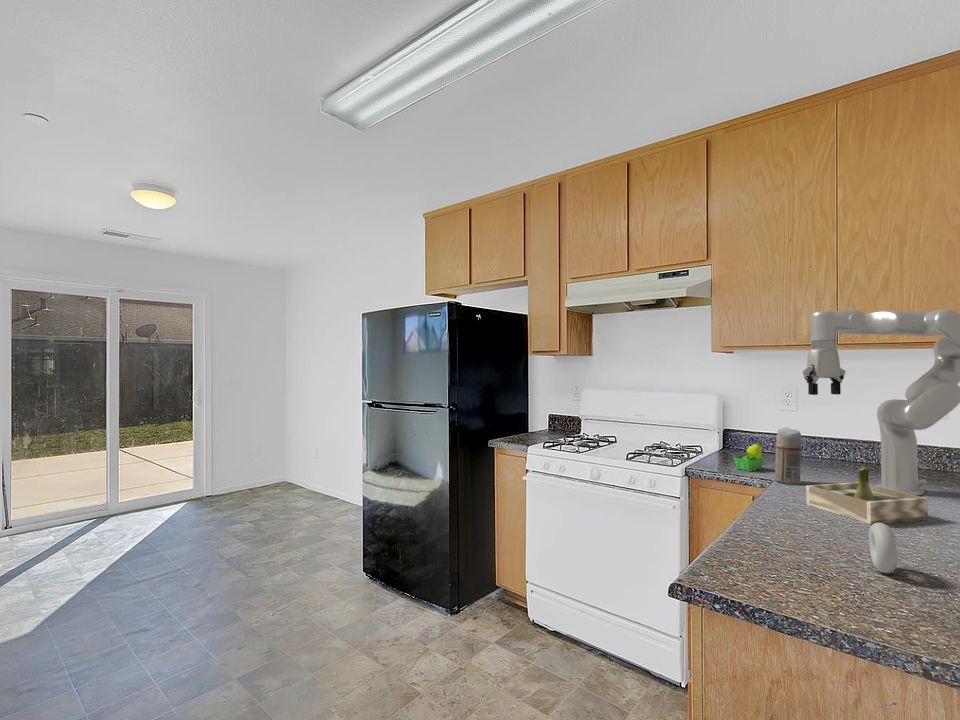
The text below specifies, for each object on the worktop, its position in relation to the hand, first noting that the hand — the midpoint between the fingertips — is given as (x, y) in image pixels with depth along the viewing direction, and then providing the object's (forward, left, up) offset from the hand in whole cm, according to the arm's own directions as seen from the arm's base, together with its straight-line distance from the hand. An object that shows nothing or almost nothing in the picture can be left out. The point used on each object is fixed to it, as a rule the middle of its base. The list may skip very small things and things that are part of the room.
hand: (824, 394), depth 172 cm
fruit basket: (0, -35, -34) cm, 49 cm away
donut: (+52, +60, -34) cm, 86 cm away
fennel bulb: (+14, +25, -32) cm, 43 cm away
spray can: (+4, -12, -34) cm, 36 cm away
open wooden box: (+14, +25, -33) cm, 44 cm away
